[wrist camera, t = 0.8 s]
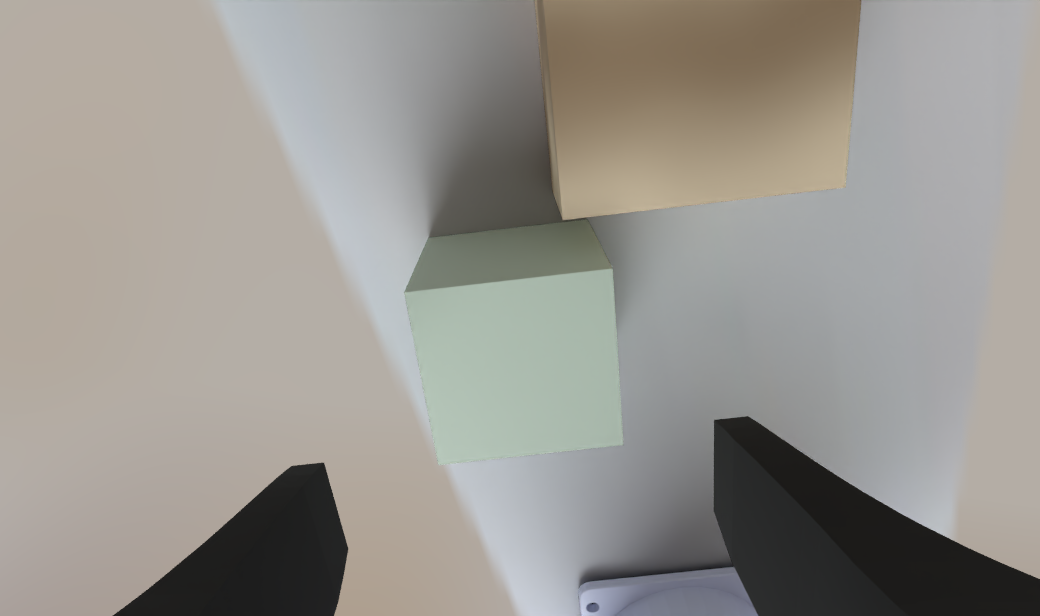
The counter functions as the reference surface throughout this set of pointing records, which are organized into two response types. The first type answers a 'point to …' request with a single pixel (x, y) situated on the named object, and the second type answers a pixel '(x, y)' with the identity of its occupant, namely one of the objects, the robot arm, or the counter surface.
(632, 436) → the counter surface
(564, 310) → the sage cube
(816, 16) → the beech base block
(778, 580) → the robot arm
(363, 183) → the counter surface
